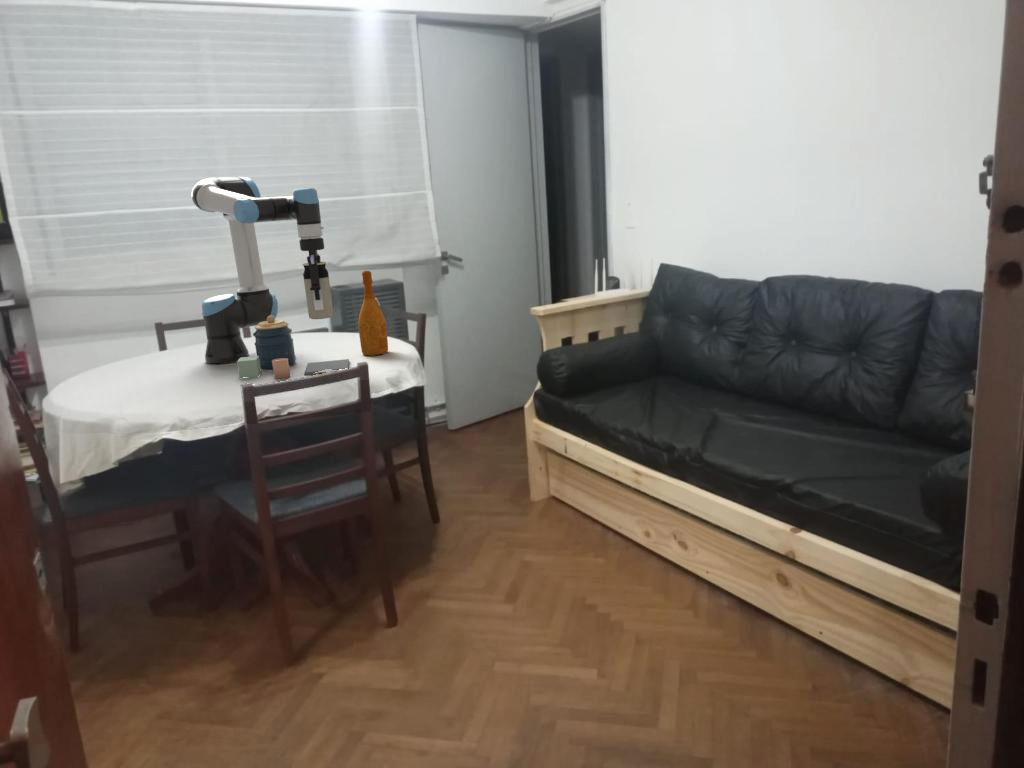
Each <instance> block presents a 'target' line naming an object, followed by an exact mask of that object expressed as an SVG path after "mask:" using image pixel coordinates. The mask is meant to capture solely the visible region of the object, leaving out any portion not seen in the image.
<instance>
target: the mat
mask: <svg viewBox="0 0 1024 768" xmlns="http://www.w3.org/2000/svg"><path fill="white" fill-rule="evenodd" d="M349 366H350V358H346V359H336V360H327V361H326V360H325V361H314V362H308V363H306V367H305V369H304V372H303V373H304V376H311V375H310V374H313V373H315V372H318V371H322V370H325V369H332V370H339V369H345V368H348V369H349Z"/></svg>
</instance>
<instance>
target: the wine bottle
mask: <svg viewBox="0 0 1024 768" xmlns="http://www.w3.org/2000/svg"><path fill="white" fill-rule="evenodd" d="M361 276H362V284H363V287H364V294H363V302H362V304H361V305H362V306H361V308H360V310H359V311H360V312H359V315H358V321H357V322H358V333H359V335H358V336H359V343H360V348H361V349H360V350H361V353H362V354H363V355H364V356H367V355H376V356H380V355H379V354H382V355H384V353H385V354H387V353H388V352H389V343H388V341H389V340H388V331H387V329H388V328H387V321H386V319H385V316H384V313H383V311H382V309H381V304H380V302H379V300H378V298H377V297H376V296H375V294H374V292H373V286H372V284H373V278H372V272H371V271H370V270H363V271H362V272H361ZM386 352H387V353H386Z"/></svg>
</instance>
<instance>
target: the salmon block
mask: <svg viewBox="0 0 1024 768" xmlns="http://www.w3.org/2000/svg"><path fill="white" fill-rule="evenodd" d="M272 366H273V369H272V371H273V372H272V373H273V377H274V380H276V379H277V380H276V381H280V380H281V381H282V380H287V379H289V378H291V372H290V371H291V369H290V366H289V363H288V358H278V359H274V360H272ZM279 379H280V380H279Z"/></svg>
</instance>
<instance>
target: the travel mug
mask: <svg viewBox="0 0 1024 768" xmlns="http://www.w3.org/2000/svg"><path fill="white" fill-rule="evenodd" d="M326 264H327V261H320V262H319V263H317V268H318V267H319V266H320V268H319V269H318V272H319V280H320V287H321V292H322V300H323V308H324V310H315V306H314V299H313V291H312V290H310V288H311V278H310V269H309V264H308V262H303V263H302V267H303V268H304V270H303V273H302V276H303V282H304V291H305V297H306V304H307V305H306V306H307V313H308V319H312V320H323V319H329V318H332V317H334V316H335V314H334V308H333V300H332V299H333V298H332V291H331V284H330V277H329V275H330V274H329V271H328V269H327V268H326Z"/></svg>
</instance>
